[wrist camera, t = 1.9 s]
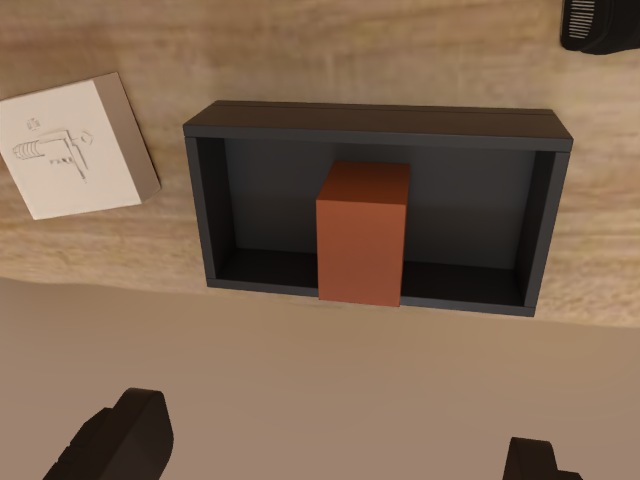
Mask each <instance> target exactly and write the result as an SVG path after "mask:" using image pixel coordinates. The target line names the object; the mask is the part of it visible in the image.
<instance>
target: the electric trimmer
mask: <svg viewBox="0 0 640 480" xmlns="http://www.w3.org/2000/svg"><path fill="white" fill-rule="evenodd" d="M563 1H564V2H563V8H564V10H563V11H562V15H563V16H561V17H562V18H561V19H562V20H561V21H562V23H561V24H562V25H561V26H562V27H561V28H562V29H561V30H560V31H561V32H560V33H561V34H560V35H561V42H562V46H563V47H564V48H565V49H566V50H571V51H581V52H583V53H587V54H594V55H607V54H611V53H615V52H620V51H624V50H630V49H638V48H640V0H563Z"/></svg>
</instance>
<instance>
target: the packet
mask: <svg viewBox="0 0 640 480" xmlns="http://www.w3.org/2000/svg"><path fill="white" fill-rule="evenodd" d="M409 177H410V164H396V163H375V162H353V161H334V162H333V164H332V166H331V169H330V171H329V173H328V175H327V177H326V179H325V182H324V184H323V186H322V188H321V190H320V192H319V195H318V197H317V199H316V220H317V256H318V293H319V300H328V301H338V302H349V303H360V304H370V305H381V306H392V307H399V306H400V296H401V285H402V274H403V263H404V251H405V236H406V221H407V207H408V192H409Z"/></svg>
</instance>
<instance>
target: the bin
mask: <svg viewBox="0 0 640 480" xmlns="http://www.w3.org/2000/svg"><path fill="white" fill-rule="evenodd" d="M183 131H184V136H185V144H186V150H187V157H188V163H189V170H190V176H191V183H192V189H193V196H194V203H195V209H196V216H197V222H198V229H199V235H200V242H201V248H202V255H203V261H204V268H205V274H206V281H207V287H213V288H224V289H234V290H245V291H256V292H267V293H278V294H288V295H299V296H310V297H319V293H318V256H317V220H316V199H317V197H318V195H319V192H320V190H321V188H322V186H323V184H324V182H325V179H326V177H327V175H328V173H329V171H330V169H331V166H332V164H333V162H334V161H353V162H375V163H396V164H410V177H409V192H408V207H407V221H406V236H405V251H404V263H403V274H402V285H401V296H400V305H407V306H417V307H428V308H439V309H450V310H460V311H471V312H482V313H493V314H503V315H514V316H525V317H534V314H535V309H536V305H537V300H538V296H539V291H540V287H541V282H542V278H543V274H544V269H545V265H546V260H547V256H548V251H549V247H550V242H551V238H552V234H553V229H554V225H555V220H556V216H557V211H558V207H559V202H560V198H561V193H562V189H563V185H564V180H565V176H566V171H567V167H568V162H569V158H570V152H571V149H572V145H573V140H574V139H573V138H572V136H571V135H570V133H569V132H568V131H567V129H566V128H565V127H564V125H563V124H562V123H561V121H560V120H559V118H558V117H557V116H556V115H555V113H554V112H553V110H543V109H507V108H470V107H434V106H398V105H361V104H325V103H288V102H252V101H215V102H214V103H213V104H211V105H210V106H208V107H207V108H205V109H204V110H203V111H201V112H200V113H198V114H197V115H196V116H194V117H193V118H191V119H190V120H189V121H187V122H186V123H184V124H183Z"/></svg>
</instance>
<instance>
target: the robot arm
mask: <svg viewBox="0 0 640 480" xmlns="http://www.w3.org/2000/svg"><path fill="white" fill-rule="evenodd" d="M173 441H174V438H173V431H172V427H171V423H170V419H169V415H168V411H167V407H166V402H165V399H164V395H163V393H162V392H160V391H154V390H146V389H138V388H129V389H128V390H126V391H125V392H124V393H123V395H122V396H121V397H120V399H119V400H118V402H117V403H116V405H115V406H114V407H113V408H103V409H102V410H101V411H99V412H98V413H97V414H96V415H94V416H93V417H92V418H90V419H89V420H88V421H87V422H85V423H84V424H83V426H82V427H81V428H80V430H79V431H78V432H77V434H76V435H75V437H74V438H73V439H72V441H71V442H70V446H69V447H68V446H67V447H66V449H65V450H64V451H63V453H62V454H61V455H60V457H59V458H58V462H57V463H56V462H55V464H54V465H53V466H52V468H51V469H50V470H49V471H48V473H47V474H46V476H45V477H44V478H43V480H159V478H160V476H161V474H162V472H163V471H164V469H165V467H166V465H167V463H168V461H169V458H170V456H171V453H172V449H173ZM503 480H583V479H582V478H581V476H580V475H579V473H575V472H568V471H561V470H558V469H557V464H556V460H555V456H554V452H553V448H552V445H551V443H550V442H548V441H541V440H533V439H525V438H517V437H512V438H511V441H510V445H509V451H508V455H507V460H506V465H505V470H504V475H503Z"/></svg>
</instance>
